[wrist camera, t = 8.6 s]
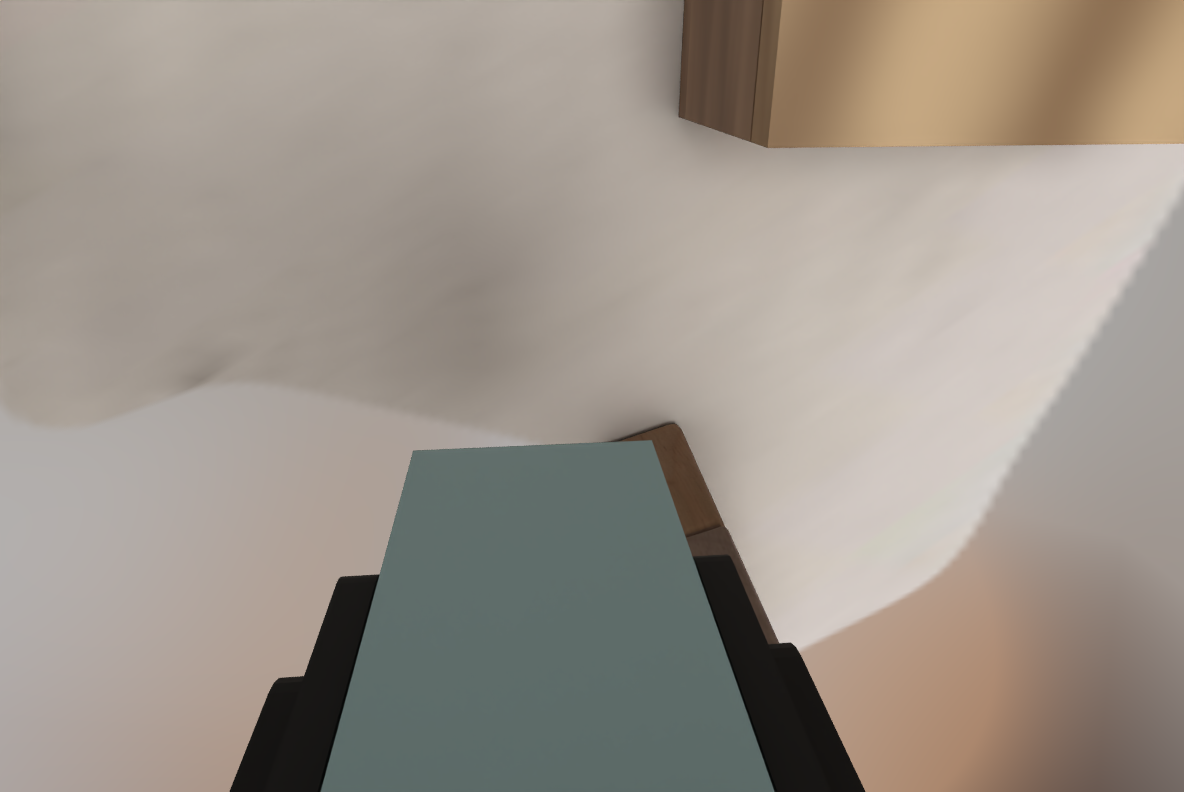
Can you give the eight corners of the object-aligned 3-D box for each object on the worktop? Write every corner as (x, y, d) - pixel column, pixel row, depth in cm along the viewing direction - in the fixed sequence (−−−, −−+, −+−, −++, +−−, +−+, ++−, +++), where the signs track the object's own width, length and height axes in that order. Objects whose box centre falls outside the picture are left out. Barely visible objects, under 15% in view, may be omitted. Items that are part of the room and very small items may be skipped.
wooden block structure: (677, 417, 29) (887, 879, 13) (736, 609, 33) (945, 1126, 17) (591, 446, 29) (688, 938, 13) (661, 633, 34) (798, 1168, 17)
